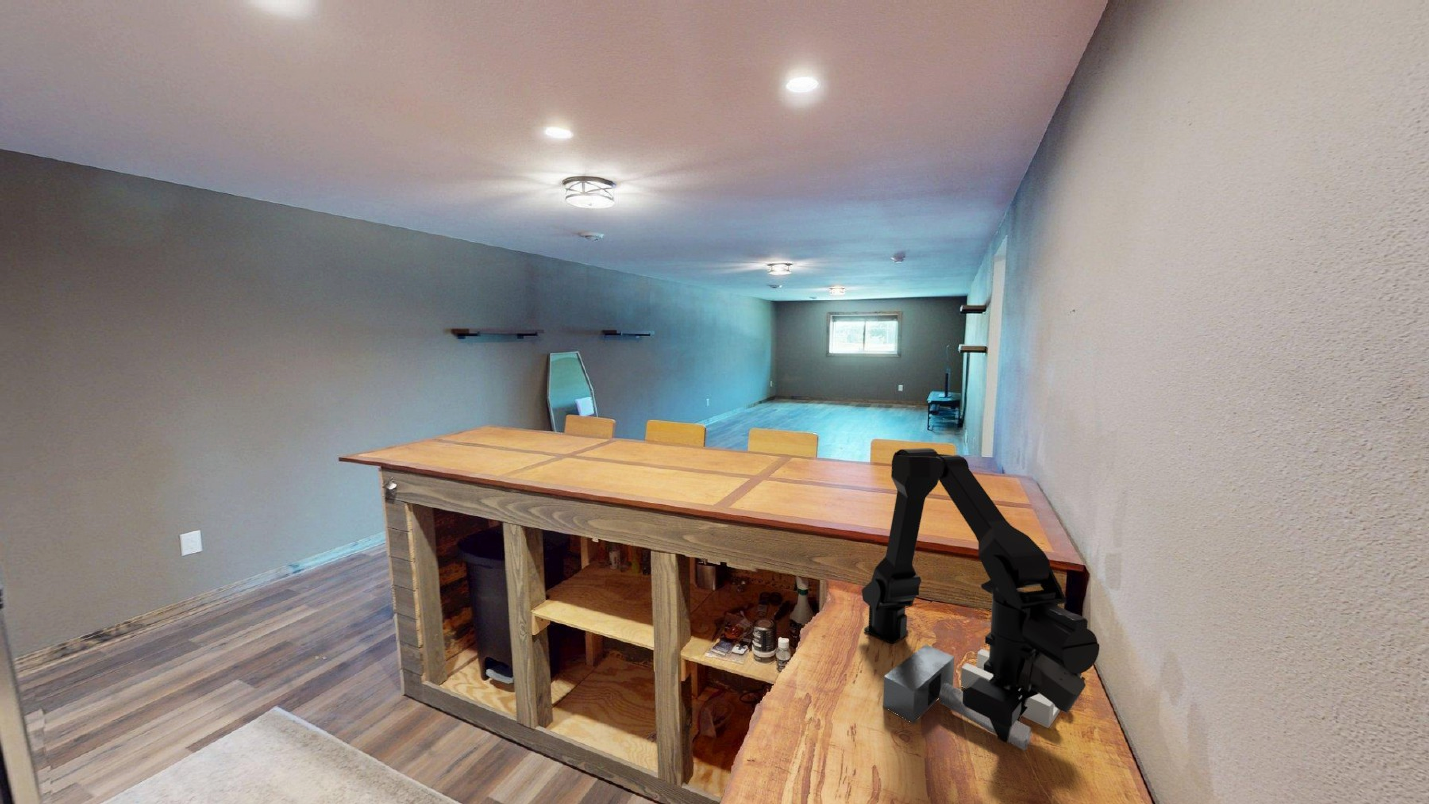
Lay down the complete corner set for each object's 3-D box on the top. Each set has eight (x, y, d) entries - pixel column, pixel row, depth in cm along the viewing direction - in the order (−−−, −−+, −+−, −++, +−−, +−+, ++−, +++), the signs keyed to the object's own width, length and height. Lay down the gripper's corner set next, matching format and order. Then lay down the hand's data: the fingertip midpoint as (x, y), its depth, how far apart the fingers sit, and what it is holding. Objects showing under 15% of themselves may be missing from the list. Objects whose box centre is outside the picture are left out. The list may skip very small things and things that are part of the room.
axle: (937, 706, 80) (939, 687, 80) (946, 698, 83) (948, 679, 82) (1021, 754, 72) (1024, 733, 71) (1029, 744, 74) (1032, 723, 73)
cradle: (960, 686, 87) (961, 667, 87) (980, 667, 93) (981, 648, 92) (1048, 728, 77) (1049, 706, 77) (1065, 703, 83) (1066, 682, 83)
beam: (882, 707, 82) (884, 676, 81) (924, 672, 91) (925, 644, 91) (912, 723, 78) (914, 691, 78) (952, 685, 87) (954, 656, 87)
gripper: (1059, 685, 61) (1051, 807, 62) (1098, 632, 73) (1091, 734, 75) (963, 646, 69) (958, 754, 71) (1013, 604, 82) (1007, 697, 83)
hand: (1007, 734), depth 74 cm, fingers closed on axle, 3 cm apart
